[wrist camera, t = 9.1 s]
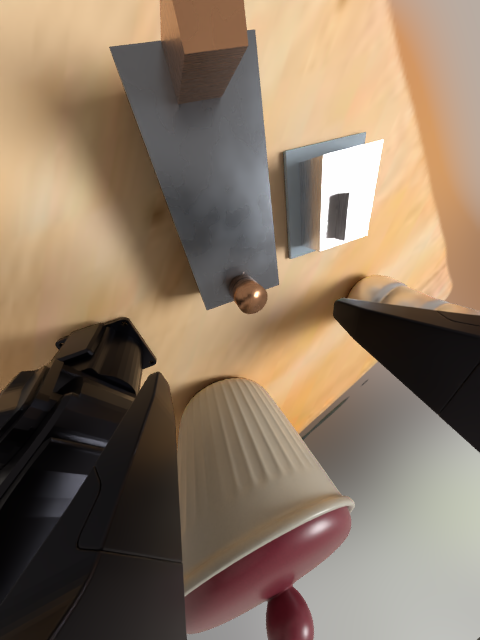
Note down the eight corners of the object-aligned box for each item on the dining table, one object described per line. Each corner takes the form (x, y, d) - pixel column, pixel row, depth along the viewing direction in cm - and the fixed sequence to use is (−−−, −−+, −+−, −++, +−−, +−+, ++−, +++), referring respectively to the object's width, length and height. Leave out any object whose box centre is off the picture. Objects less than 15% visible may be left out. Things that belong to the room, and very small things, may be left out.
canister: (160, 446, 30) (154, 753, 13) (165, 361, 22) (163, 859, 5) (258, 426, 37) (336, 610, 20) (289, 355, 29) (458, 562, 12)
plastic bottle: (339, 320, 29) (558, 464, 13) (340, 282, 25) (656, 422, 9) (374, 302, 30) (625, 419, 13) (380, 262, 26) (746, 360, 9)
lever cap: (343, 231, 21) (378, 236, 17) (301, 245, 20) (328, 254, 17) (351, 149, 17) (398, 135, 13) (299, 162, 16) (335, 151, 13)
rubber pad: (349, 237, 22) (351, 238, 22) (289, 258, 21) (291, 259, 20) (362, 133, 17) (366, 131, 16) (283, 151, 16) (285, 150, 15)
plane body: (261, 274, 21) (304, 306, 14) (200, 295, 20) (218, 339, 13) (231, 74, 12) (302, -64, 6) (125, 91, 11) (72, -57, 5)
